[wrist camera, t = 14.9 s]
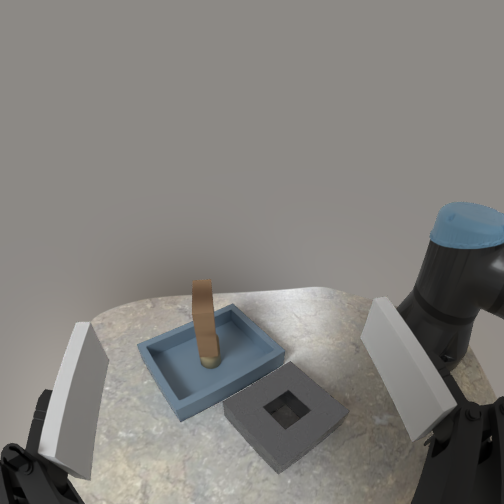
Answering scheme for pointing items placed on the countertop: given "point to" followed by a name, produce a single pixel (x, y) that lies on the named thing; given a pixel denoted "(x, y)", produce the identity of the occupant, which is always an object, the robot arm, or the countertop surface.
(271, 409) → the socket block
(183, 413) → the tray
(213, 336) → the key
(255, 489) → the countertop surface
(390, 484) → the countertop surface
